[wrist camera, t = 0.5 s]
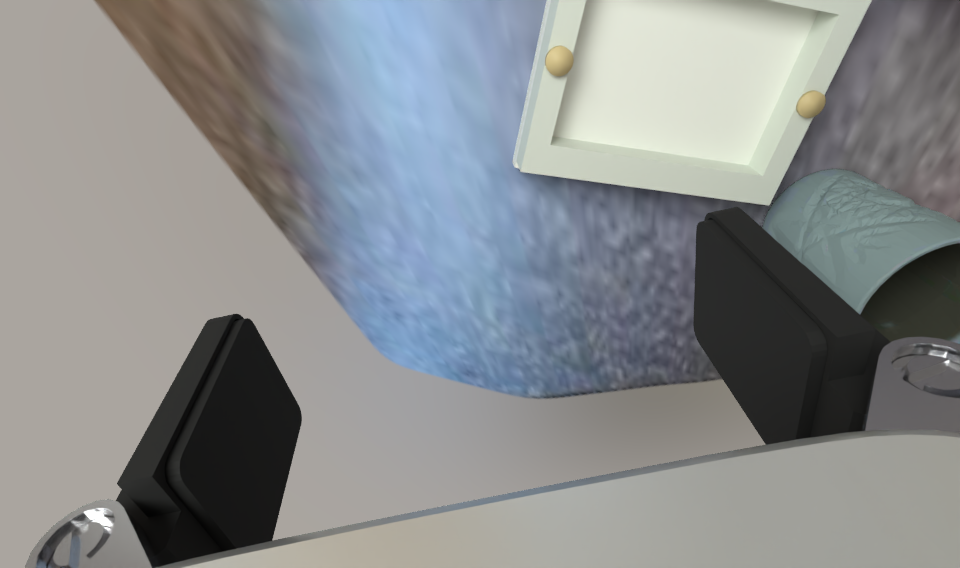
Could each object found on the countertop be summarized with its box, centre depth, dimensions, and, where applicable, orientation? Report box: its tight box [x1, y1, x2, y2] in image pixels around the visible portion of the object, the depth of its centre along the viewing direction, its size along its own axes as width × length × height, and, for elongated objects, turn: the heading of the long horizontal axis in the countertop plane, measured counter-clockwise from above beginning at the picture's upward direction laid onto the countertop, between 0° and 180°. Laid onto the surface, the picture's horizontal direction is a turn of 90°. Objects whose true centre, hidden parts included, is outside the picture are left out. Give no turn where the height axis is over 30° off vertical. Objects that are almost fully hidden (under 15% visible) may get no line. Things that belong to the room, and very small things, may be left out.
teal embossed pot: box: [763, 169, 960, 344], centre depth 38 cm, size 10×10×12 cm
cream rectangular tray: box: [513, 0, 872, 205], centre depth 34 cm, size 15×18×4 cm
